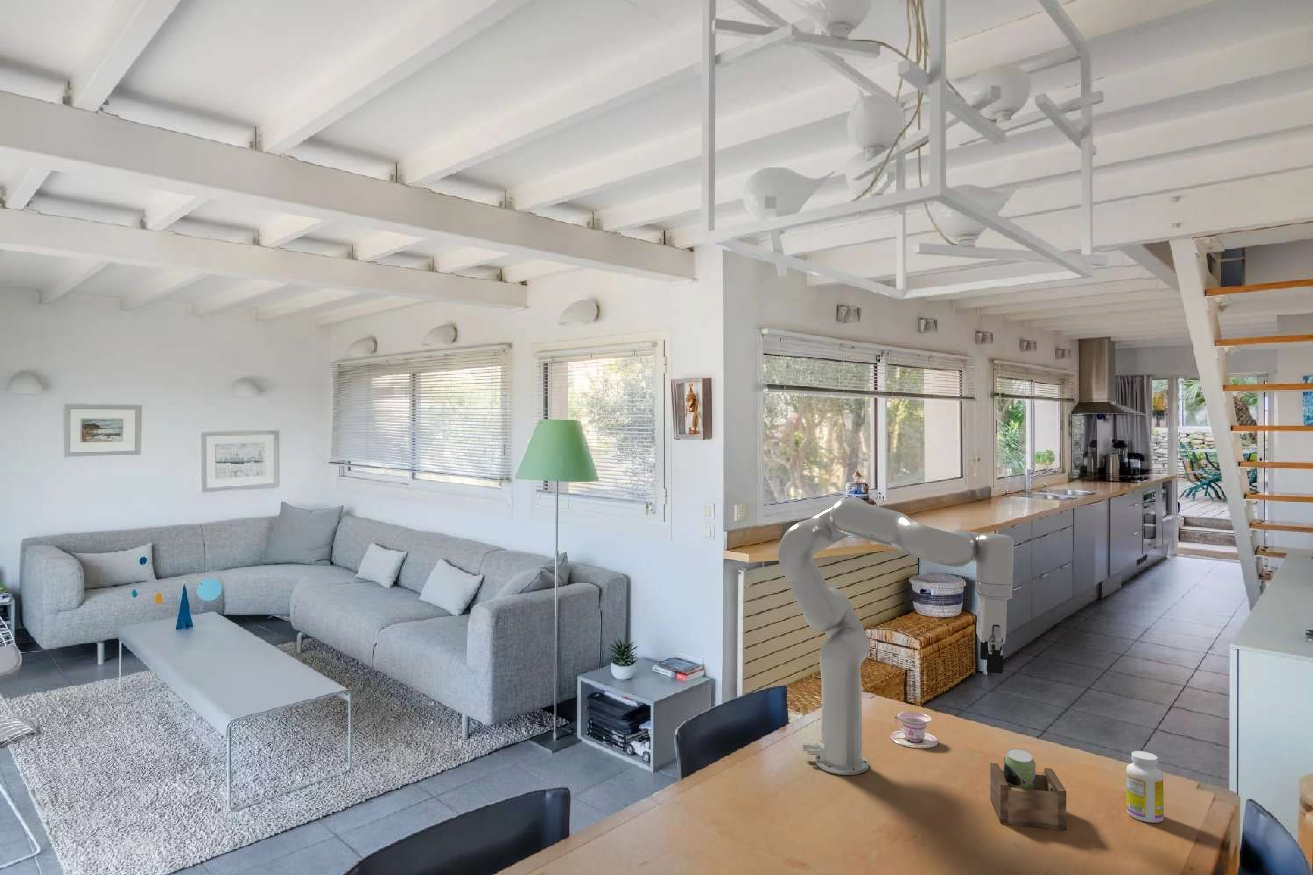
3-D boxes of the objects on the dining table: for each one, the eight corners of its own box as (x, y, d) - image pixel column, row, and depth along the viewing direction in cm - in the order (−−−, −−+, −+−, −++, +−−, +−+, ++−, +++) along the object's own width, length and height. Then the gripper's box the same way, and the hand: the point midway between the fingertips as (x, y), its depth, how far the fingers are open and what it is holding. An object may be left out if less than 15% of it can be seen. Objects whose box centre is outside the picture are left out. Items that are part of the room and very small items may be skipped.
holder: (1000, 823, 159) (1000, 784, 159) (990, 798, 170) (990, 762, 170) (1066, 830, 157) (1066, 790, 157) (1051, 805, 167) (1051, 768, 167)
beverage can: (1025, 799, 168) (1025, 744, 167) (1042, 816, 160) (1041, 758, 160) (996, 799, 168) (996, 744, 168) (1011, 816, 160) (1011, 758, 160)
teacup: (940, 736, 206) (940, 712, 206) (936, 752, 195) (936, 728, 195) (893, 728, 211) (893, 706, 211) (887, 744, 200) (887, 720, 200)
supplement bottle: (1158, 811, 165) (1158, 751, 165) (1167, 826, 158) (1168, 763, 158) (1122, 806, 167) (1122, 747, 167) (1130, 820, 161) (1130, 759, 161)
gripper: (970, 581, 182) (968, 653, 182) (981, 596, 165) (978, 675, 165) (1005, 583, 180) (1002, 657, 180) (1019, 599, 163) (1016, 679, 163)
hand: (990, 666), depth 173 cm, fingers open, 9 cm apart
